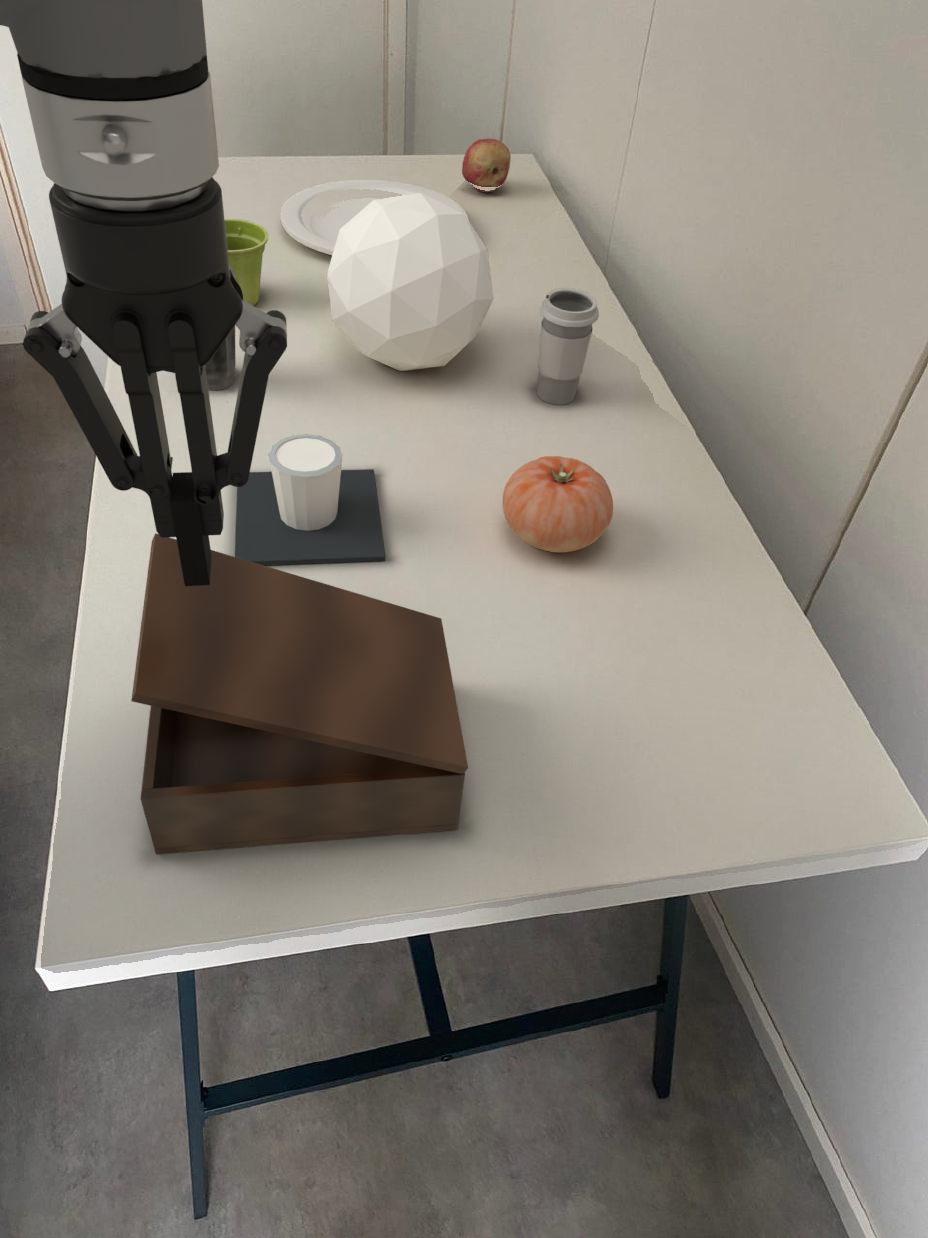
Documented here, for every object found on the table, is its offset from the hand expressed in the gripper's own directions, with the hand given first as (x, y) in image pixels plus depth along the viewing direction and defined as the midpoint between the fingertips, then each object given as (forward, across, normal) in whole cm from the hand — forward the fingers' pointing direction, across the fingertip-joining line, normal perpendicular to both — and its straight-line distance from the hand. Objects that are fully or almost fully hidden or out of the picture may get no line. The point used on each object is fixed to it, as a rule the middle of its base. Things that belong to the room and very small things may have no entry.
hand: (198, 570), depth 60 cm
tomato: (+20, +31, +26) cm, 45 cm away
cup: (+20, +37, +52) cm, 67 cm away
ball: (+20, +20, +61) cm, 67 cm away
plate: (+20, +19, +98) cm, 102 cm away
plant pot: (+20, -1, +76) cm, 79 cm away
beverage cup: (+20, -3, +56) cm, 60 cm away
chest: (+20, +6, 0) cm, 21 cm away
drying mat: (+20, +7, +30) cm, 37 cm away
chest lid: (+8, +6, 0) cm, 10 cm away
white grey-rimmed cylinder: (+20, +7, +30) cm, 37 cm away
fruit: (+20, +38, +114) cm, 122 cm away
